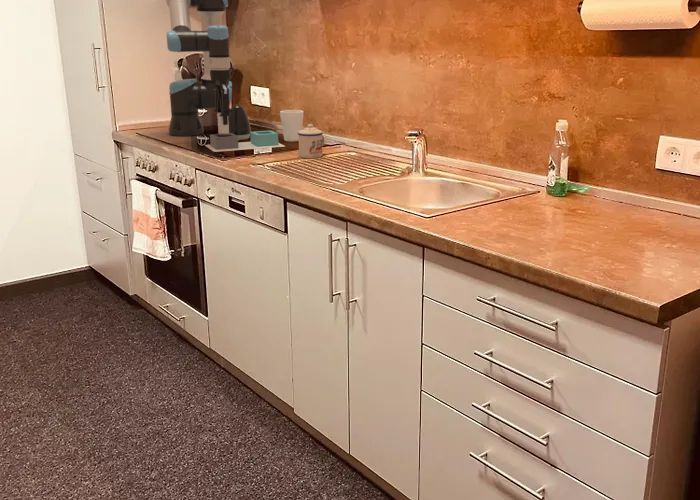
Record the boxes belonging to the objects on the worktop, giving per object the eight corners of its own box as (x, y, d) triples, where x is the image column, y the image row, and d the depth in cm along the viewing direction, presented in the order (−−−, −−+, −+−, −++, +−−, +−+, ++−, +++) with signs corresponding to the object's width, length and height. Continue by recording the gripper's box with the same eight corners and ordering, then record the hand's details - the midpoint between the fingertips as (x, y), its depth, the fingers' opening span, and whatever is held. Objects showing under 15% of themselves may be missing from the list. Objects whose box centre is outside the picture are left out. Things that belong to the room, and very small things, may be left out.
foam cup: (282, 146, 277) (281, 113, 273) (279, 142, 286) (278, 110, 282) (306, 145, 279) (305, 112, 275) (302, 141, 288) (301, 109, 284)
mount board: (204, 148, 271) (203, 133, 269) (272, 143, 282) (272, 128, 280) (214, 155, 257) (213, 139, 255) (285, 150, 268) (285, 134, 266)
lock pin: (218, 146, 267) (216, 112, 263) (228, 145, 269) (226, 111, 265) (220, 148, 264) (218, 113, 259) (231, 147, 265) (229, 113, 261)
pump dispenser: (222, 141, 289) (220, 103, 284) (247, 139, 293) (245, 102, 288) (229, 144, 280) (227, 106, 275) (254, 143, 284) (252, 105, 279)
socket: (250, 143, 274) (250, 131, 273) (271, 141, 278) (271, 130, 276) (257, 146, 267) (256, 135, 266) (278, 145, 270) (278, 133, 269)
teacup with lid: (311, 159, 250) (311, 127, 247) (293, 156, 256) (292, 124, 252) (333, 154, 259) (332, 123, 256) (314, 151, 265) (314, 121, 261)
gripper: (204, 68, 263) (208, 129, 270) (215, 71, 248) (219, 136, 256) (224, 67, 266) (227, 128, 273) (236, 70, 251) (239, 135, 258)
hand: (223, 132), depth 264 cm, fingers closed on lock pin, 4 cm apart
